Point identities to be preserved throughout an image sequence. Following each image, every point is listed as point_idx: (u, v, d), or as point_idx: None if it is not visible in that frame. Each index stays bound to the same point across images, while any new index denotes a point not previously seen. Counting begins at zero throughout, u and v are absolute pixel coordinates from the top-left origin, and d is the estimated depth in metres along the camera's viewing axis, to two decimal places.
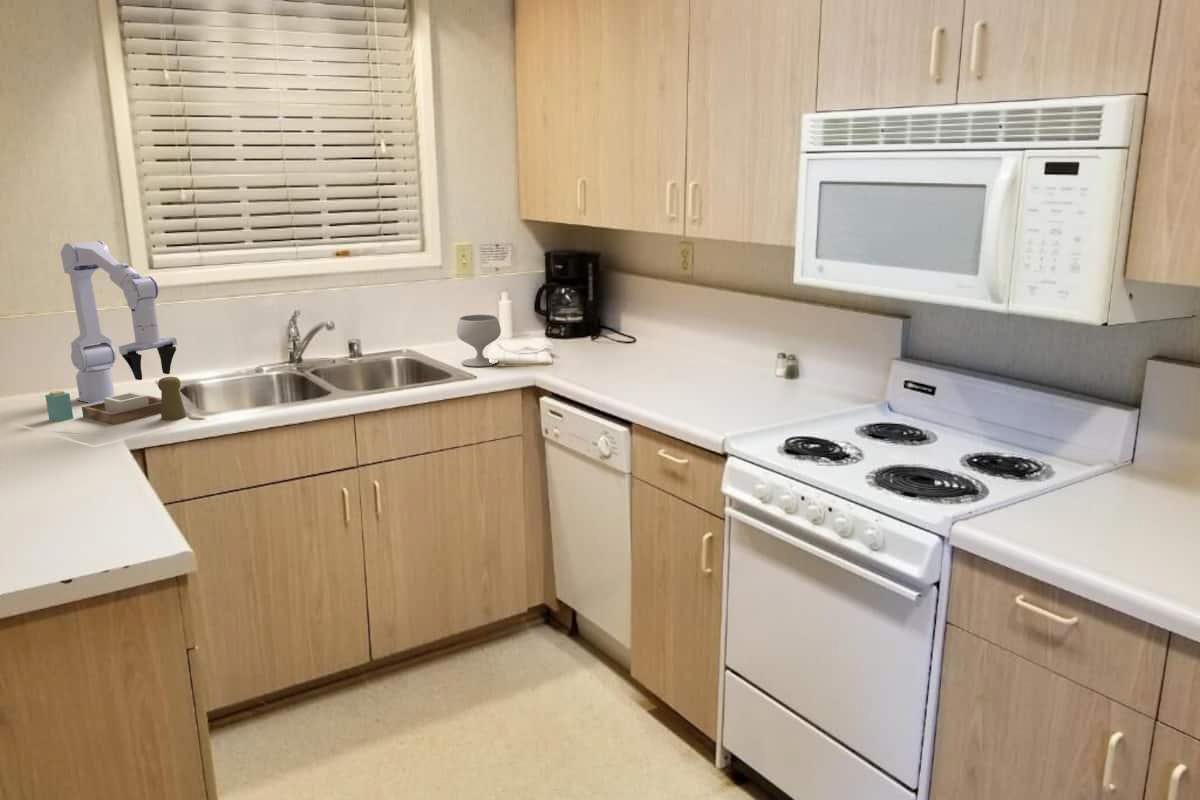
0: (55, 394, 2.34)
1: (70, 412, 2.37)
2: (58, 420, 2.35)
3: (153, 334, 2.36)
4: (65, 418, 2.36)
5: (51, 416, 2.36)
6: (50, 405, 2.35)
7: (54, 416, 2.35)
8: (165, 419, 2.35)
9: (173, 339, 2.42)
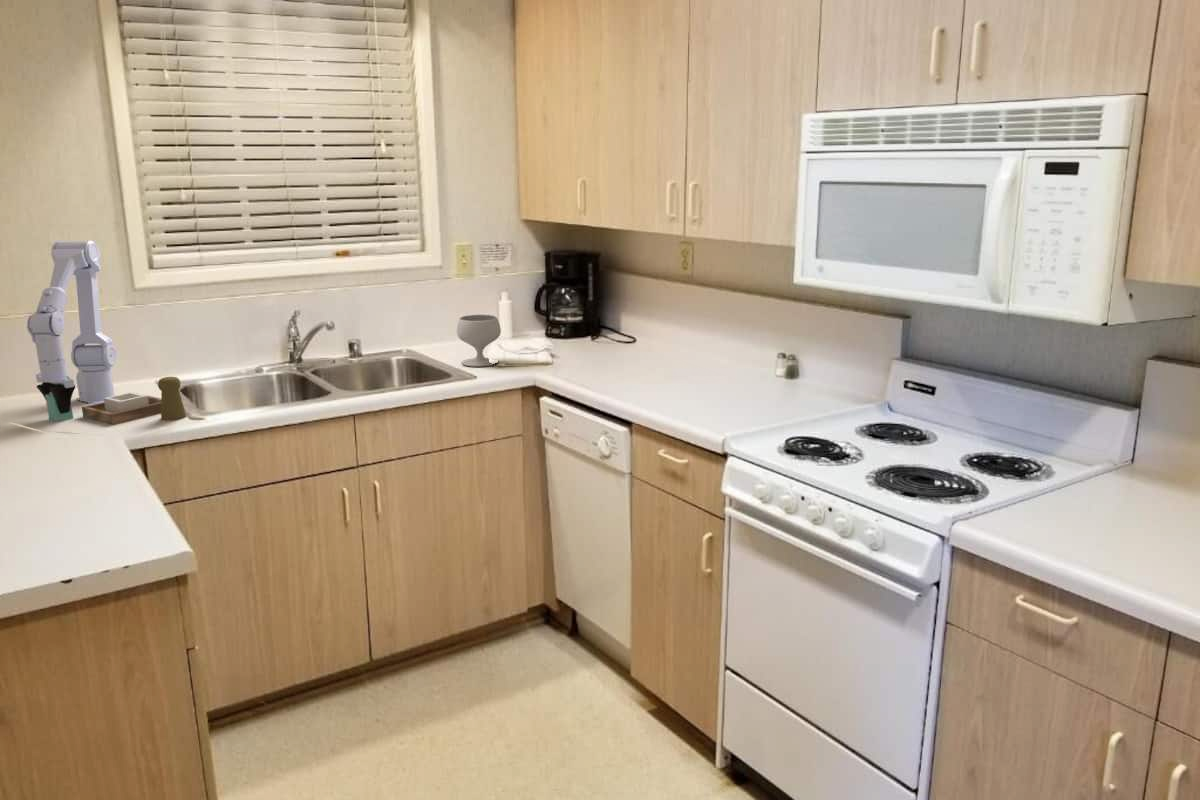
0: None
1: (70, 412, 2.37)
2: (58, 420, 2.35)
3: (41, 370, 2.32)
4: (65, 418, 2.36)
5: (51, 416, 2.36)
6: (50, 405, 2.35)
7: (54, 416, 2.35)
8: (165, 419, 2.35)
9: (63, 381, 2.30)
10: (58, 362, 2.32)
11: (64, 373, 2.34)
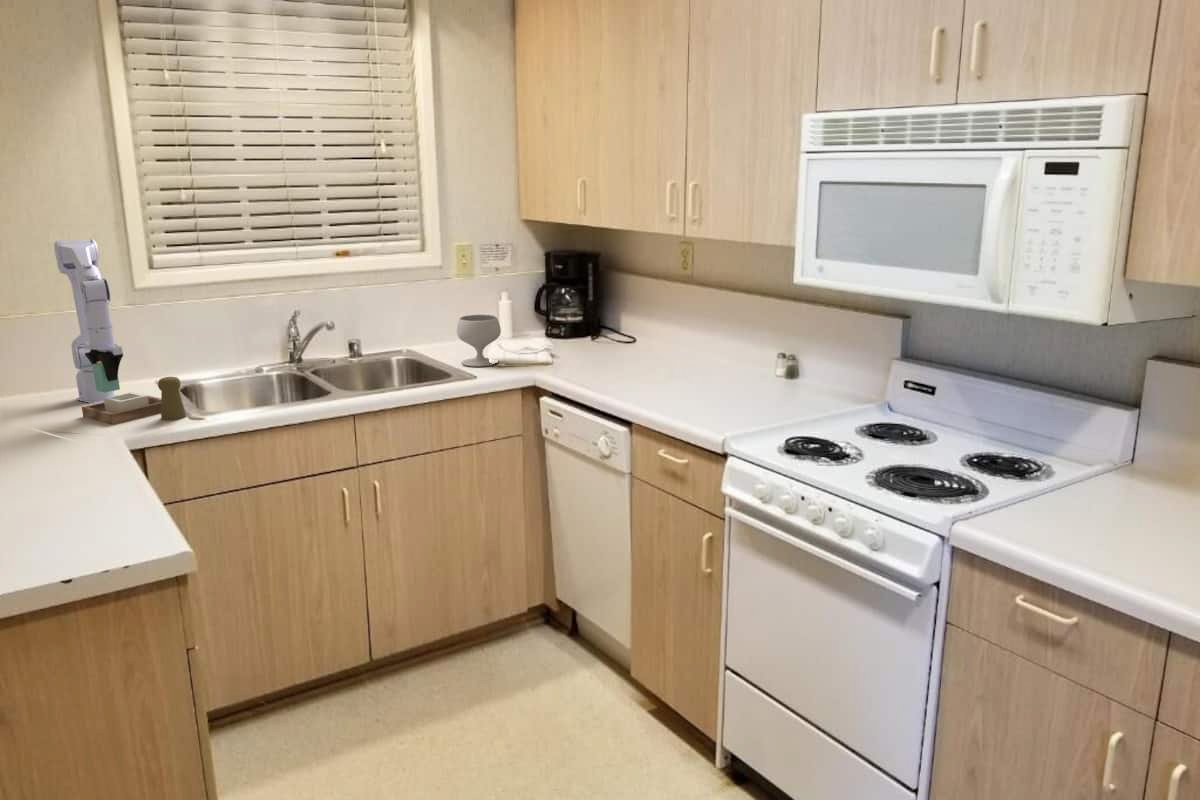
0: None
1: (117, 381, 2.38)
2: (105, 389, 2.36)
3: (90, 337, 2.33)
4: (112, 387, 2.38)
5: (98, 386, 2.37)
6: (97, 374, 2.36)
7: (101, 385, 2.36)
8: (165, 419, 2.35)
9: (112, 348, 2.32)
10: (106, 329, 2.34)
11: (112, 341, 2.36)
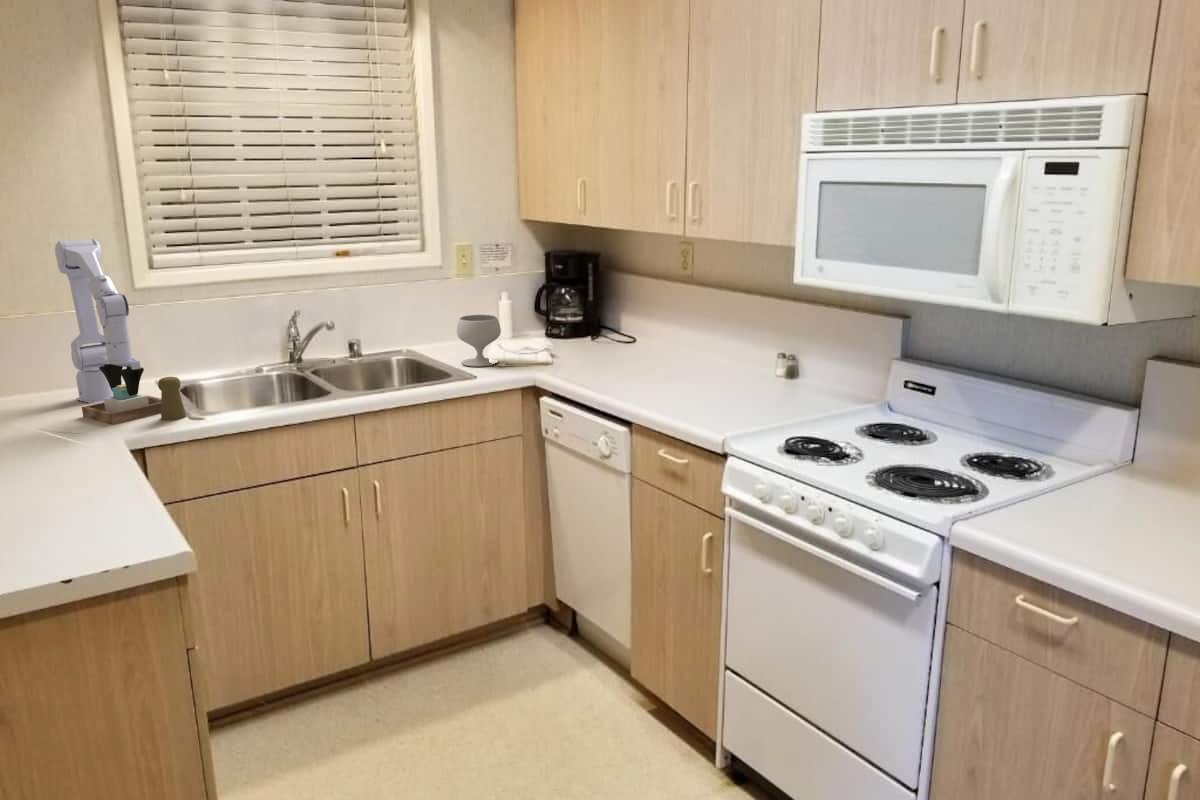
0: (122, 387, 2.38)
1: None
2: None
3: (108, 352, 2.35)
4: None
5: None
6: (117, 398, 2.39)
7: None
8: (165, 419, 2.35)
9: (130, 363, 2.34)
10: (124, 344, 2.36)
11: (130, 355, 2.38)
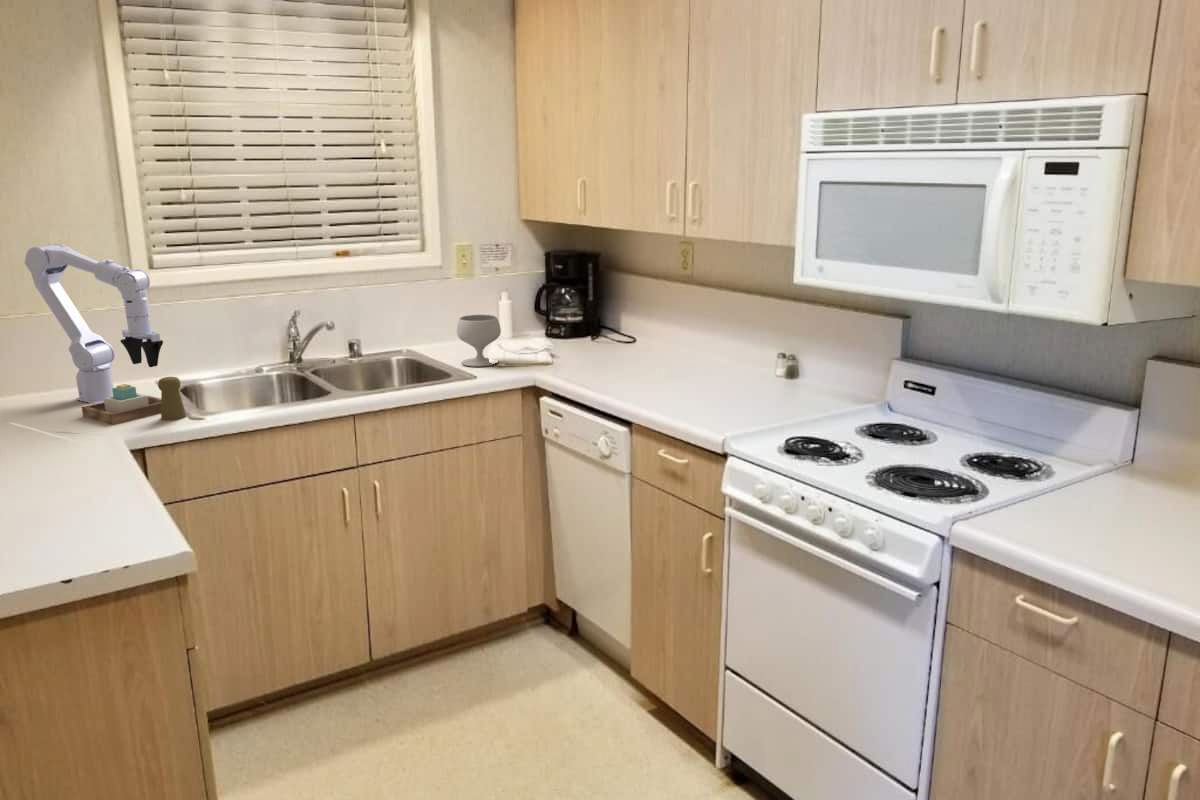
0: (122, 387, 2.38)
1: None
2: None
3: (129, 325, 2.47)
4: None
5: None
6: (117, 398, 2.39)
7: None
8: (165, 419, 2.35)
9: (150, 335, 2.46)
10: (145, 318, 2.48)
11: (150, 328, 2.50)
